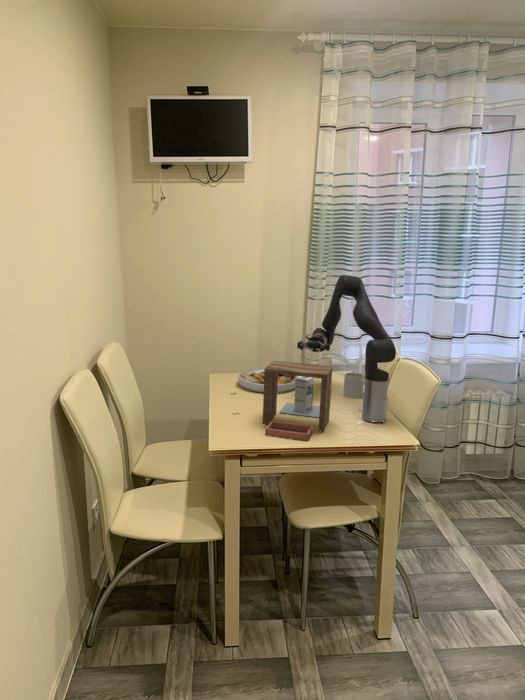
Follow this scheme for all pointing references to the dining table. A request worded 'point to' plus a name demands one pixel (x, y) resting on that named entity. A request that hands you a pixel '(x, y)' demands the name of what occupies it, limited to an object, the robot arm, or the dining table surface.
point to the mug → (353, 385)
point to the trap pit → (289, 430)
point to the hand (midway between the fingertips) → (311, 348)
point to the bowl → (256, 381)
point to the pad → (290, 410)
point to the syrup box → (303, 394)
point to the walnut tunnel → (296, 370)
